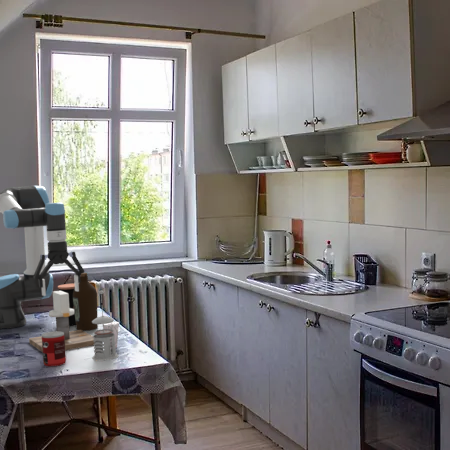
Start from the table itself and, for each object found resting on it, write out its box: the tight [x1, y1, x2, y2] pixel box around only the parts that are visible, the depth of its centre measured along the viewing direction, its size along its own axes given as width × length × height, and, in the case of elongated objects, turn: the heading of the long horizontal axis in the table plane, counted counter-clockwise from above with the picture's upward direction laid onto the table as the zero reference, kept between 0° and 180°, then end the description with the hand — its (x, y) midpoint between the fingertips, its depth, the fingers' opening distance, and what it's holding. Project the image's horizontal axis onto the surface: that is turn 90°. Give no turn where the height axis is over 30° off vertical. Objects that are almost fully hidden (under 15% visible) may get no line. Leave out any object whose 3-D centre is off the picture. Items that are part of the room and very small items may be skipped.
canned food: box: [41, 330, 67, 367], centre depth 236 cm, size 8×8×11 cm
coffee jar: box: [57, 283, 76, 327], centre depth 302 cm, size 11×11×18 cm
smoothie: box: [104, 312, 120, 349], centre depth 255 cm, size 6×6×14 cm
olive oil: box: [73, 272, 99, 332], centre depth 290 cm, size 11×11×25 cm
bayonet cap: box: [48, 290, 75, 318], centre depth 264 cm, size 12×10×9 cm
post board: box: [28, 317, 95, 353], centre depth 265 cm, size 22×22×12 cm
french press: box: [91, 290, 119, 362], centre depth 241 cm, size 10×12×25 cm
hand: (60, 293), depth 264 cm, fingers open, 13 cm apart
